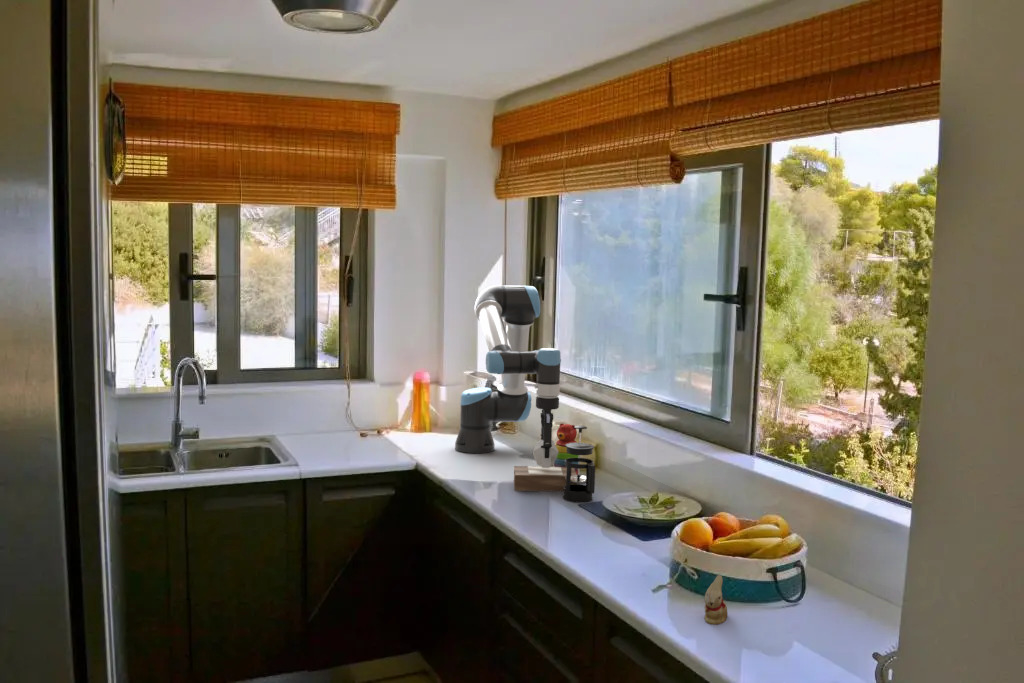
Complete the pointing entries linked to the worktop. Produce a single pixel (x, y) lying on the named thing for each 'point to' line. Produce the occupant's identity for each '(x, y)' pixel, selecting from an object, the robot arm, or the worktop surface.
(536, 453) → the die
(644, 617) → the worktop surface
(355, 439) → the worktop surface
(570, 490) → the french press
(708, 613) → the chocolate bunny
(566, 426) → the stacking bear
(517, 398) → the robot arm
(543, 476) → the block
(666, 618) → the worktop surface
